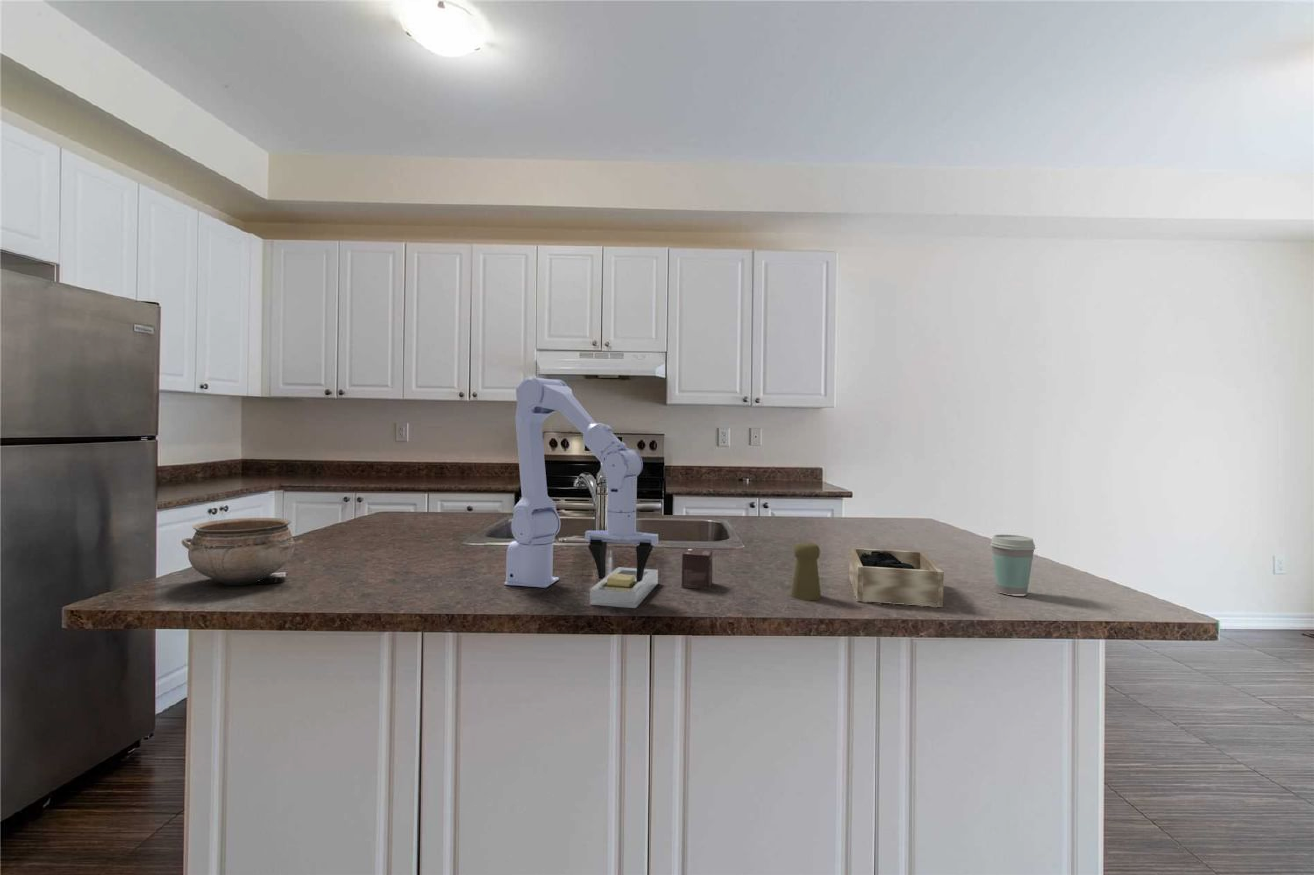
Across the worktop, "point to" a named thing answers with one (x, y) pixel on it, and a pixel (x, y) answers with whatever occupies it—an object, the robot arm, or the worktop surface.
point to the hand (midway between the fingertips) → (620, 579)
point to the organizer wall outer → (930, 565)
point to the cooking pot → (240, 548)
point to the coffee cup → (1012, 562)
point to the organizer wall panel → (856, 574)
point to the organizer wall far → (897, 555)
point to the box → (697, 568)
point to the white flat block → (624, 589)
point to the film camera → (883, 560)
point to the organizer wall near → (900, 585)
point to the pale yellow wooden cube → (621, 581)
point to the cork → (806, 572)
